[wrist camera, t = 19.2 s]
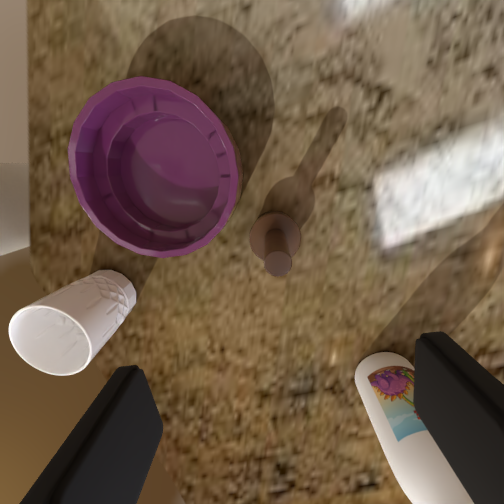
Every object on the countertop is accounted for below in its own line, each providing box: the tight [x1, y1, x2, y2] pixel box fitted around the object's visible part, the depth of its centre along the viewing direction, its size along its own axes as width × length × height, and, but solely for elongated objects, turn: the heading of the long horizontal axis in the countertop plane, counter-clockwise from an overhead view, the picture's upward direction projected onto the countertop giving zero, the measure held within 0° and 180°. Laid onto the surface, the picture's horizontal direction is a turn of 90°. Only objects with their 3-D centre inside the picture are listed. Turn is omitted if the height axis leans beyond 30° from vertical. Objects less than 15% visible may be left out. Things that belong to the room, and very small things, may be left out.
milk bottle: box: [355, 352, 474, 504], centre depth 25 cm, size 8×8×20 cm
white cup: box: [9, 270, 136, 376], centre depth 28 cm, size 8×8×10 cm
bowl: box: [68, 76, 243, 258], centre depth 25 cm, size 15×15×6 cm
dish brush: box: [249, 211, 301, 276], centre depth 25 cm, size 5×5×10 cm
